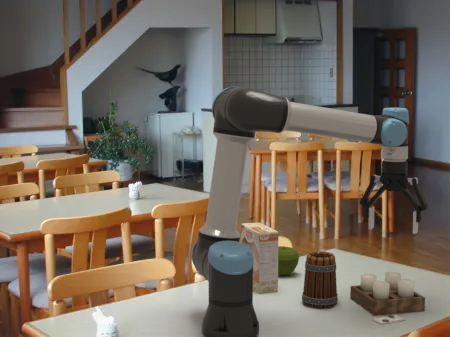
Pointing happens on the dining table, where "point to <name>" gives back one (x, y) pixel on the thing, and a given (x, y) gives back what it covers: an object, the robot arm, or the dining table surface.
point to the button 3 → (392, 279)
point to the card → (388, 319)
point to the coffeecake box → (262, 255)
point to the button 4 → (405, 288)
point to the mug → (320, 280)
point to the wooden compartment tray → (387, 302)
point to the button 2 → (380, 290)
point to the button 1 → (367, 282)
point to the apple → (287, 260)
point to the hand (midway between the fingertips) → (392, 230)
